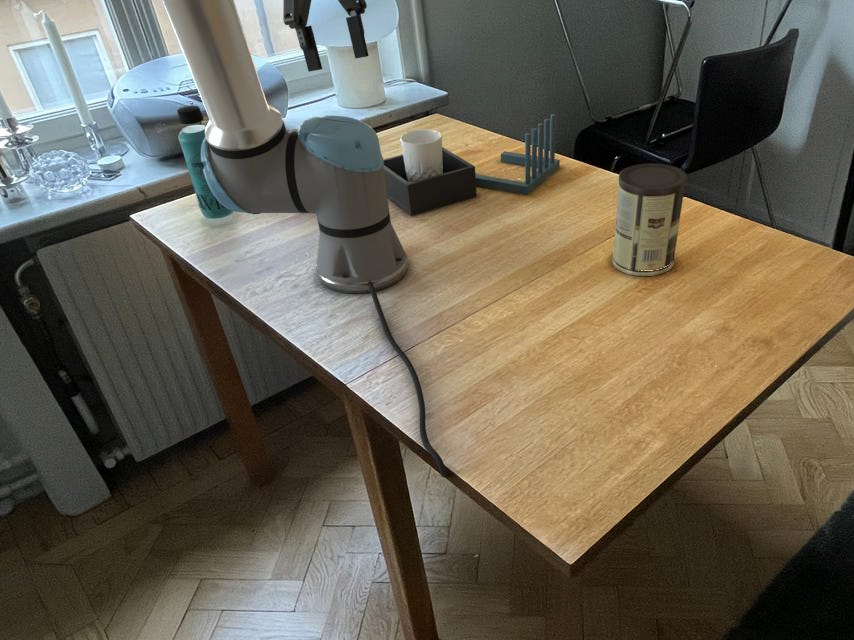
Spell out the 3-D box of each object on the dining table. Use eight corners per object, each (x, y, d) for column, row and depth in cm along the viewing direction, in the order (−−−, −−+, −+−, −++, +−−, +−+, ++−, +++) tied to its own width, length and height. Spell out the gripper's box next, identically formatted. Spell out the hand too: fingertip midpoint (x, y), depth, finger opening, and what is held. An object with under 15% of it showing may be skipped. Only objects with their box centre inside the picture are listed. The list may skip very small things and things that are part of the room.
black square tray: (476, 196, 143) (475, 166, 138) (411, 216, 138) (407, 185, 134) (441, 173, 152) (438, 144, 147) (378, 191, 147) (374, 161, 143)
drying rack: (559, 167, 151) (561, 112, 143) (527, 195, 142) (527, 137, 134) (504, 158, 156) (503, 105, 148) (470, 184, 147) (467, 129, 139)
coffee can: (646, 242, 126) (657, 157, 116) (686, 265, 119) (701, 178, 109) (598, 258, 122) (605, 172, 112) (637, 283, 116) (647, 194, 106)
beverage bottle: (201, 217, 142) (165, 105, 128) (235, 209, 144) (202, 99, 129) (207, 229, 138) (170, 116, 123) (242, 222, 139) (209, 109, 125)
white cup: (448, 181, 146) (444, 128, 139) (443, 197, 141) (438, 143, 134) (410, 182, 147) (404, 129, 140) (403, 198, 142) (396, 144, 135)
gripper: (333, -82, 130) (364, 54, 142) (234, -75, 114) (278, 78, 126) (366, -92, 126) (394, 49, 138) (267, -86, 110) (310, 73, 122)
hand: (339, 63), depth 132 cm, fingers open, 13 cm apart
